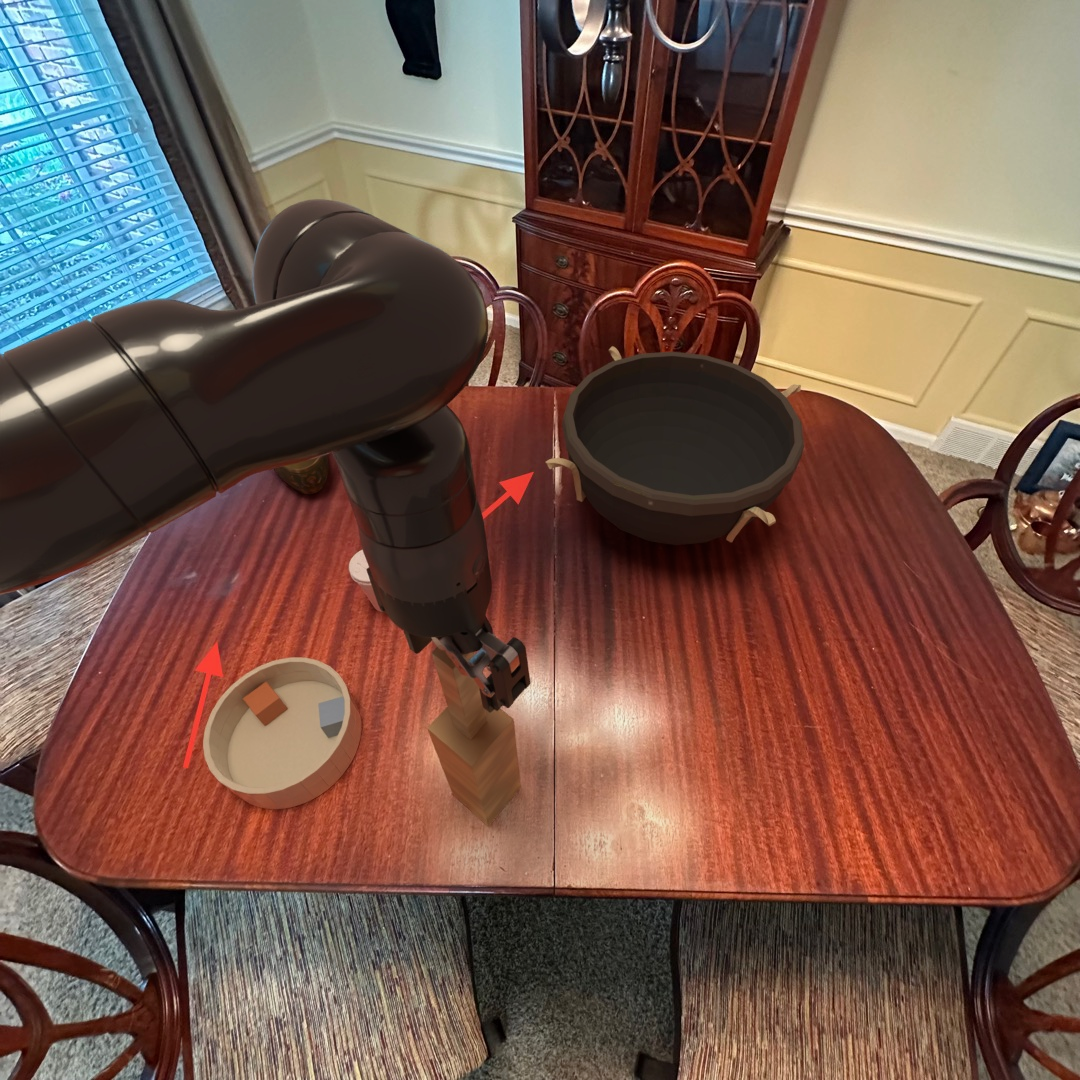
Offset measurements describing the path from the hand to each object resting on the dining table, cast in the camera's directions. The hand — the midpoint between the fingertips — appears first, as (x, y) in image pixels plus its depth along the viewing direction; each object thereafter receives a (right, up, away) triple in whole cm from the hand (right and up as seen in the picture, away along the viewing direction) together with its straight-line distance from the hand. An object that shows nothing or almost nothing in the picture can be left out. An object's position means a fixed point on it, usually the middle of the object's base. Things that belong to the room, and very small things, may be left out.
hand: (458, 672), depth 51 cm
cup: (-37, +25, +62) cm, 76 cm away
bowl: (+28, +16, +53) cm, 63 cm away
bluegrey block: (-19, -13, +28) cm, 37 cm away
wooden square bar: (0, -7, +8) cm, 10 cm away
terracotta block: (-29, -11, +30) cm, 43 cm away
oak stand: (0, -20, +23) cm, 30 cm away
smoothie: (-17, +2, +42) cm, 45 cm away
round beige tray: (-25, -15, +28) cm, 40 cm away
